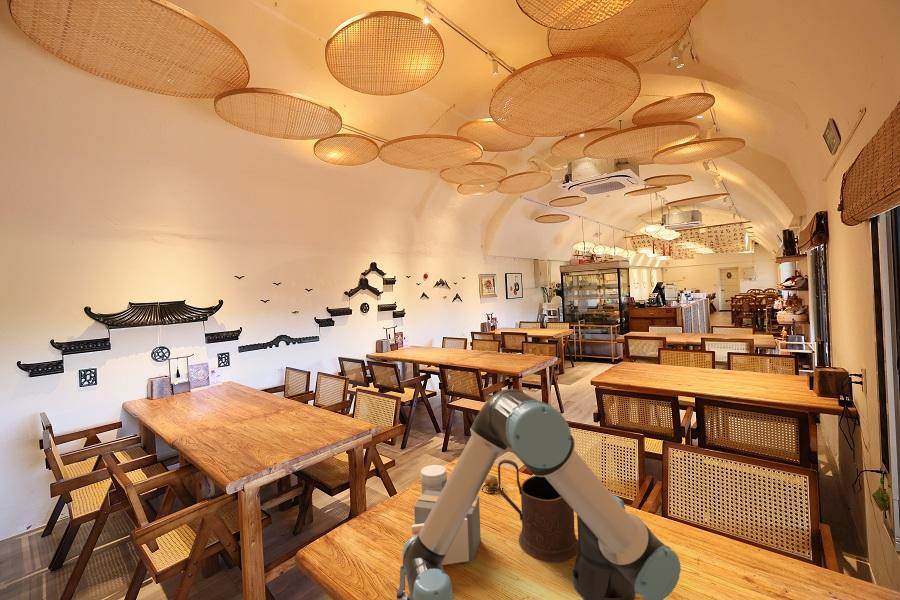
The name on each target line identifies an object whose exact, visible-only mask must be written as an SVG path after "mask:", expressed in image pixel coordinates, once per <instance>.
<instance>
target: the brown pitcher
mask: <svg viewBox="0 0 900 600" xmlns="http://www.w3.org/2000/svg"><path fill="white" fill-rule="evenodd" d="M503 464H509V465H511V466H513V467H514V468H515V470H516V484H517V487H518V490H519V495H520V503H521V504H520V505H521V509H520V508H519V507H518V506H517V504H516V503H514V501H513V500H512V499H511V498H510V497H509V496H508V495H507V494H506V492H504V490H502V489H501V485H502V484H501V466H502V465H503ZM519 471H520V470H519V466H518V464H517V463H516V462H515V461H513V460H511V459H502V460H500V461H499V462H498V466H497V474H498V475H497V476H498V477H497V481H498V482H499V486H498V493H500V495H501V496H502V497H503V499H505V500H506V501H507V503H508V504H510V506H511V507H512V508H513V509H514V510H515V512H516V513H517V514H518V515H519V520H520V521H521V524H522V525H521V527H522V528H521V531H520V534H519V536H518V544H519V547H520V548H521V550H522V551H523V552H524V553H525V554H526V555H527V556H529V557H530V558H532V559H534V560H536V561H539V562H542V563H548V564H561V563H562V564H563V563H568V562H570V561H572V560H574V559H576V558H577V555H578V551H579V550H578V537H577V536H576V533H575V530H576V529H575V511H574V510H573V509H572V508H571V507H570V506H569V505H568V503H567V502H566V501H565V500H564V499H563V498H562V496H561V495H560V494H559V493H558V492H557V491H556V490H555V488H554V487H553V486H552V485H551V484H550V483H549V481H548V480H547V479H546V478H545V477H539V476H535V475H532V476H529V477H527V478H526V479H525V480H524V481H523V482H522V483H520V476H519V475H520V473H519Z"/></svg>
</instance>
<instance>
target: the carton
mask: <svg viewBox="0 0 900 600" xmlns="http://www.w3.org/2000/svg"><path fill="white" fill-rule="evenodd" d="M440 493H441V492H439V491H430V490H425V492H424V493H423V495H422V493H421V494H420V496H419V497H418V498H417V502H416V503H415V505H414V507H413V508H414V510H413V511H414V512H413V513H414V525H415V524H423V523H425V521H426V520H427V518H428V516H429V514H430V512H431V510H432V508H433V506H434V505H435V503H436V501H437V499H438V497H439V495H440ZM480 511H481V510H480V495H477V496H476V498H475V500H474V502H473V504H472V506H471V508H470V510H469V511H468V513H467V515H466V517H465V518H467V520H468V546H469V561H468V562H473V563H474V562H475V559H476V556H477V553H478V550H479V547H480V543H481V540H482V539H481V516H480V515H481V513H480Z"/></svg>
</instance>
